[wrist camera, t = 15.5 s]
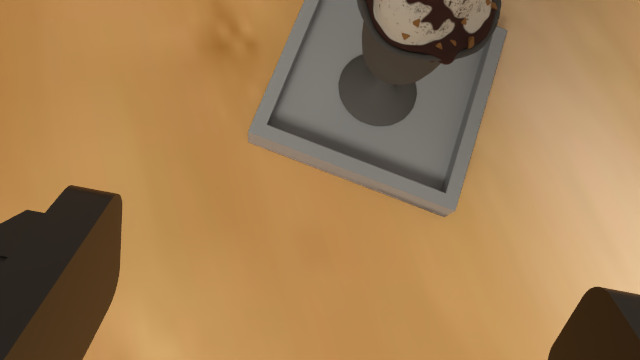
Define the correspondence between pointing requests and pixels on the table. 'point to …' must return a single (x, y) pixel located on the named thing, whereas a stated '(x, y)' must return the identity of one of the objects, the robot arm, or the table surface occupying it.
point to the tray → (367, 140)
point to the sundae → (409, 51)
